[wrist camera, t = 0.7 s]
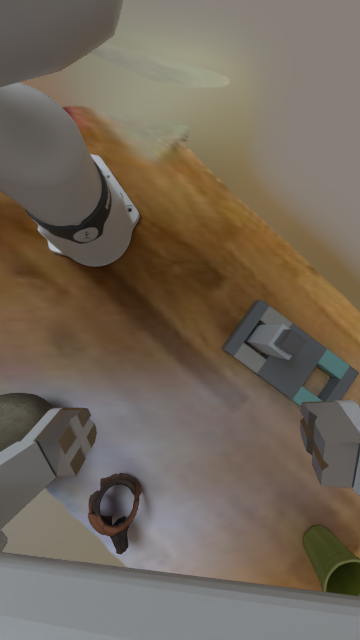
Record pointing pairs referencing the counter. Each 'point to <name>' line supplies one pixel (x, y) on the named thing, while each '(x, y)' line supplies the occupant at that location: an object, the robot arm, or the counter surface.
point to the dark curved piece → (105, 522)
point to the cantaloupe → (19, 416)
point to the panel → (296, 369)
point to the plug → (276, 340)
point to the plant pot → (332, 562)
